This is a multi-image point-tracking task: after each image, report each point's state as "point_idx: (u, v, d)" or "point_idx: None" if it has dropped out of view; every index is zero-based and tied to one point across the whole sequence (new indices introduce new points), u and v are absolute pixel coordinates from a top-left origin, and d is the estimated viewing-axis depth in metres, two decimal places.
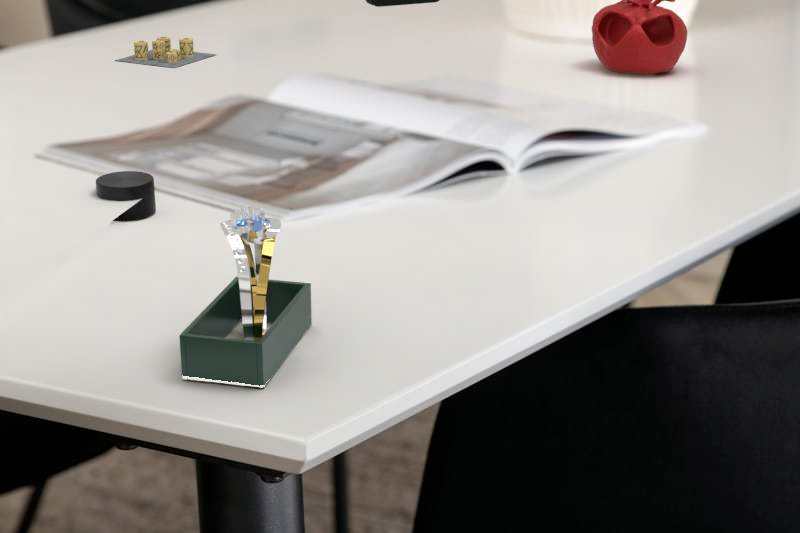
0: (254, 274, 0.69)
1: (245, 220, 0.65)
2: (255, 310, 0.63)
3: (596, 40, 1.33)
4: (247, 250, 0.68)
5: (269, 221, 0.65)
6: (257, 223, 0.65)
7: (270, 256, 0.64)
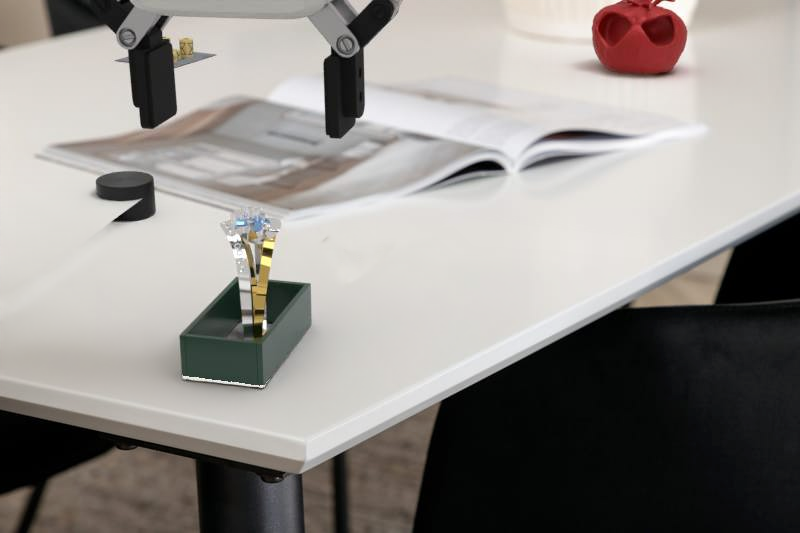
0: (254, 274, 0.69)
1: (245, 220, 0.65)
2: (255, 310, 0.63)
3: (596, 40, 1.33)
4: (247, 250, 0.68)
5: (269, 221, 0.65)
6: (257, 223, 0.65)
7: (270, 256, 0.64)
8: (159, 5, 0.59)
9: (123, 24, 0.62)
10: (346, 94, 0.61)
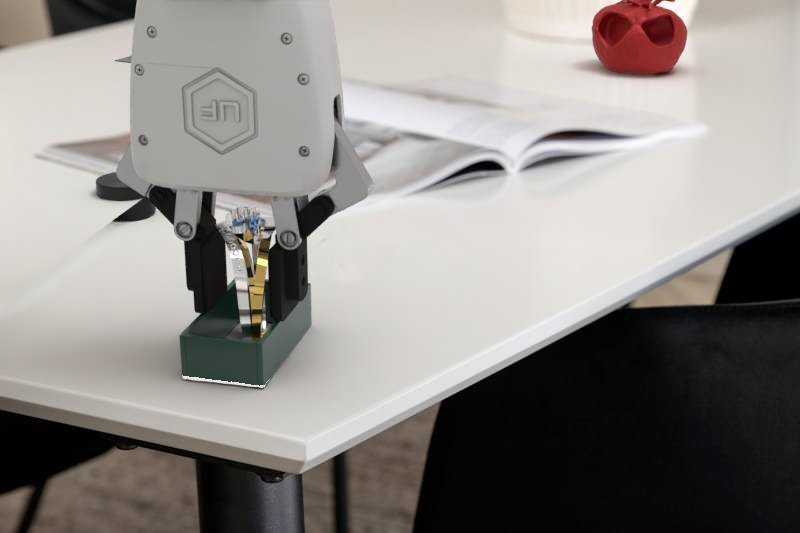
0: (252, 274, 0.69)
1: (241, 220, 0.65)
2: (253, 310, 0.63)
3: (596, 40, 1.33)
4: (244, 250, 0.68)
5: (265, 221, 0.65)
6: (253, 223, 0.65)
7: (266, 255, 0.64)
8: (164, 179, 0.62)
9: (175, 220, 0.65)
10: (289, 281, 0.65)
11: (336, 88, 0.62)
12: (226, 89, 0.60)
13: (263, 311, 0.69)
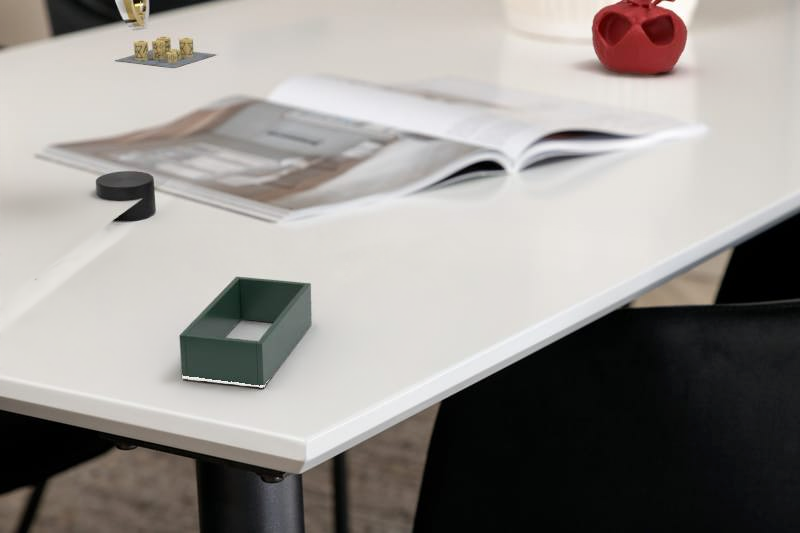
0: None
1: None
2: None
3: (596, 40, 1.33)
4: None
5: None
6: None
7: None
8: None
9: None
10: None
11: None
12: None
13: (144, 0, 0.83)
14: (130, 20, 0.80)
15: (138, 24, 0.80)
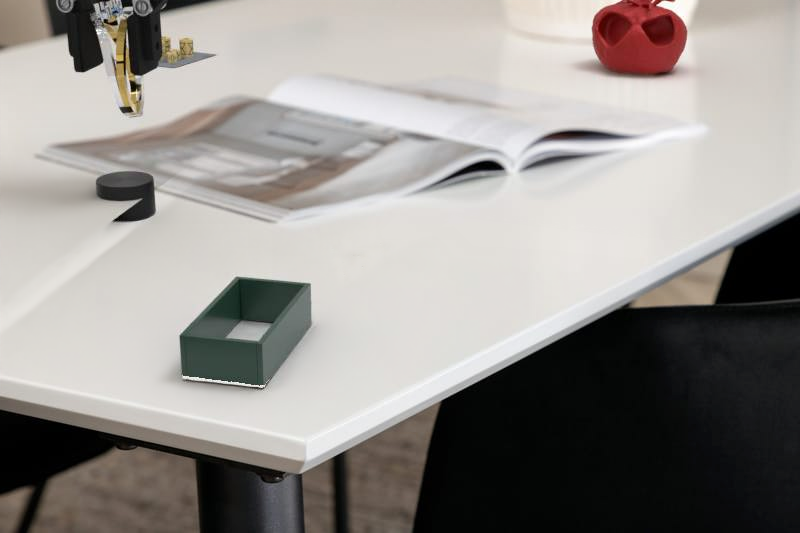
0: None
1: None
2: (117, 71, 0.82)
3: (596, 40, 1.33)
4: None
5: (125, 7, 0.84)
6: (115, 9, 0.84)
7: (124, 30, 0.83)
8: None
9: None
10: (145, 43, 0.84)
11: None
12: None
13: (140, 88, 0.88)
14: (127, 110, 0.85)
15: (134, 113, 0.85)
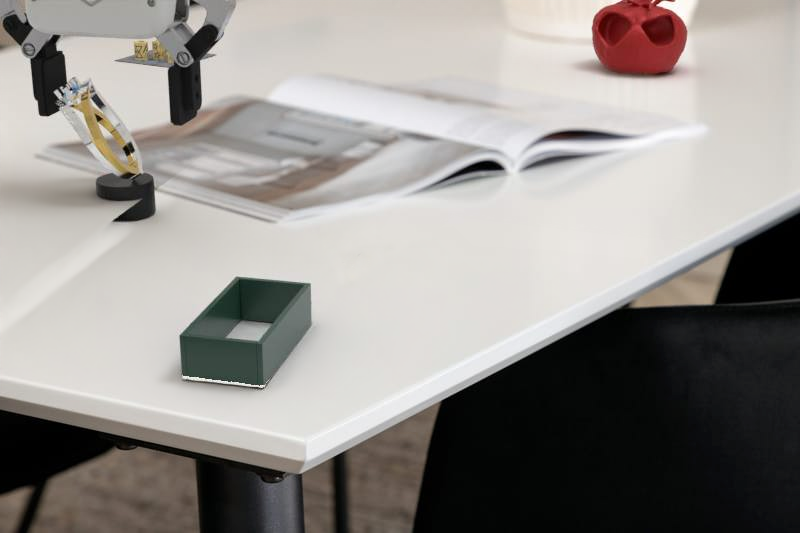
0: (114, 128, 0.90)
1: None
2: (96, 142, 0.84)
3: (596, 40, 1.33)
4: (96, 114, 0.89)
5: (83, 82, 0.86)
6: (73, 87, 0.86)
7: (87, 102, 0.84)
8: (49, 27, 0.83)
9: (26, 40, 0.85)
10: (185, 93, 0.84)
11: None
12: None
13: (133, 149, 0.90)
14: (123, 173, 0.86)
15: (132, 173, 0.87)
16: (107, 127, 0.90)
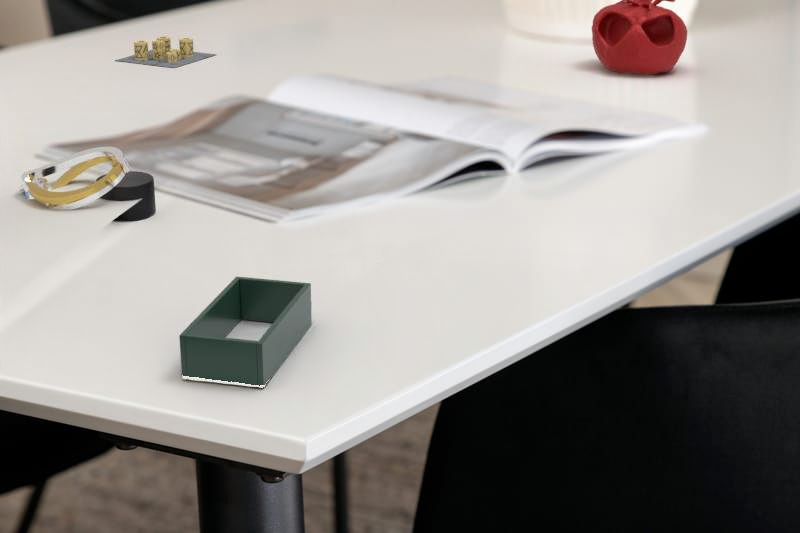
0: (92, 160, 0.90)
1: None
2: (65, 201, 0.85)
3: (596, 40, 1.33)
4: (73, 171, 0.91)
5: None
6: None
7: (31, 192, 0.86)
8: None
9: None
10: None
11: None
12: None
13: (110, 153, 0.89)
14: (109, 183, 0.86)
15: (114, 173, 0.86)
16: (89, 165, 0.91)
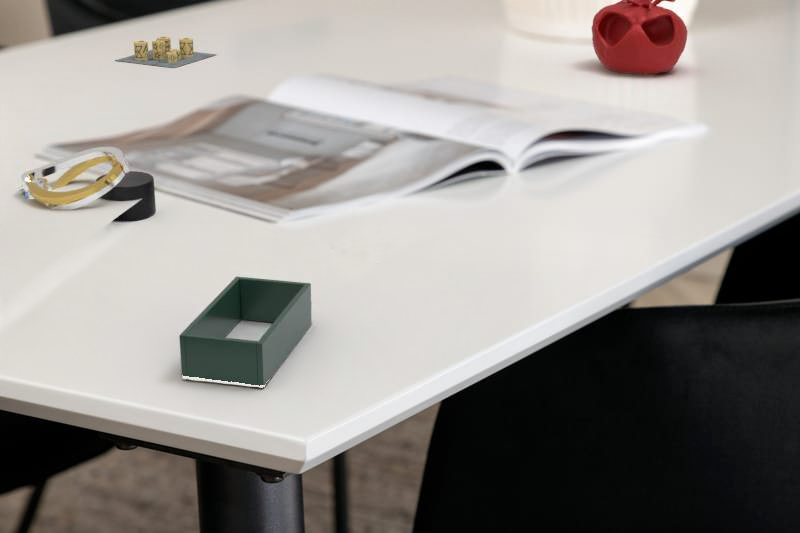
0: (92, 160, 0.90)
1: None
2: (65, 201, 0.85)
3: (596, 40, 1.33)
4: (73, 171, 0.91)
5: None
6: None
7: (31, 192, 0.86)
8: None
9: None
10: None
11: None
12: None
13: (110, 153, 0.89)
14: (109, 183, 0.86)
15: (114, 173, 0.86)
16: (89, 165, 0.91)
